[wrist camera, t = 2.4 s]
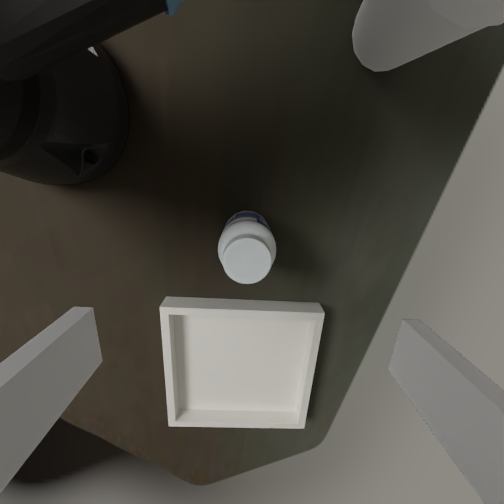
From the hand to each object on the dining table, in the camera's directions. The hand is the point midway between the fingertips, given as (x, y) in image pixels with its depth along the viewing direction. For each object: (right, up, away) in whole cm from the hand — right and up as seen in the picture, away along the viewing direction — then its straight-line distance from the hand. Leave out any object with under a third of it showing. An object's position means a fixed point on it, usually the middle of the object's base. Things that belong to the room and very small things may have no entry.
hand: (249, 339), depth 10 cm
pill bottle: (-1, +6, +18) cm, 19 cm away
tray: (-2, -12, +24) cm, 27 cm away
